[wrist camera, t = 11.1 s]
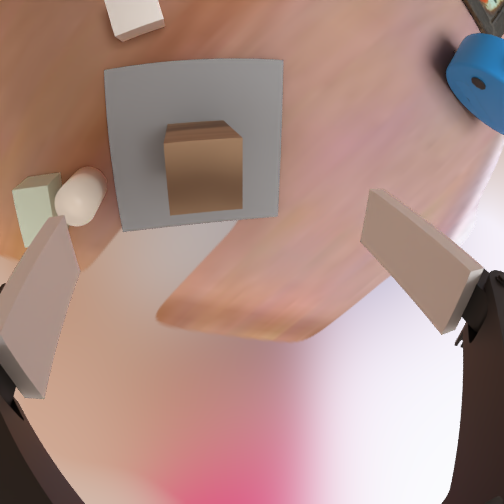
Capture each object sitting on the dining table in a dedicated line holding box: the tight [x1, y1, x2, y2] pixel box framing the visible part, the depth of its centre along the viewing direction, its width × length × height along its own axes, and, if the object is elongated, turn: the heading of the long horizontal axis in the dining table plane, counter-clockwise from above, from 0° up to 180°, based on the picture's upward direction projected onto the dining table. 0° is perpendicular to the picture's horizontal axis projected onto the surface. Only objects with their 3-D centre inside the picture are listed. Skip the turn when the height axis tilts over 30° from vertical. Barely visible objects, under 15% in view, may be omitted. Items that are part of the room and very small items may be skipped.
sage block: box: [12, 173, 69, 247], centre depth 26 cm, size 6×4×4 cm, turn 176°
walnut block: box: [164, 120, 243, 216], centre depth 24 cm, size 5×5×9 cm
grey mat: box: [104, 59, 283, 232], centre depth 28 cm, size 16×16×1 cm
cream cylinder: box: [54, 166, 107, 226], centre depth 26 cm, size 4×4×5 cm
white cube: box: [104, 0, 165, 42], centre depth 19 cm, size 4×4×4 cm
